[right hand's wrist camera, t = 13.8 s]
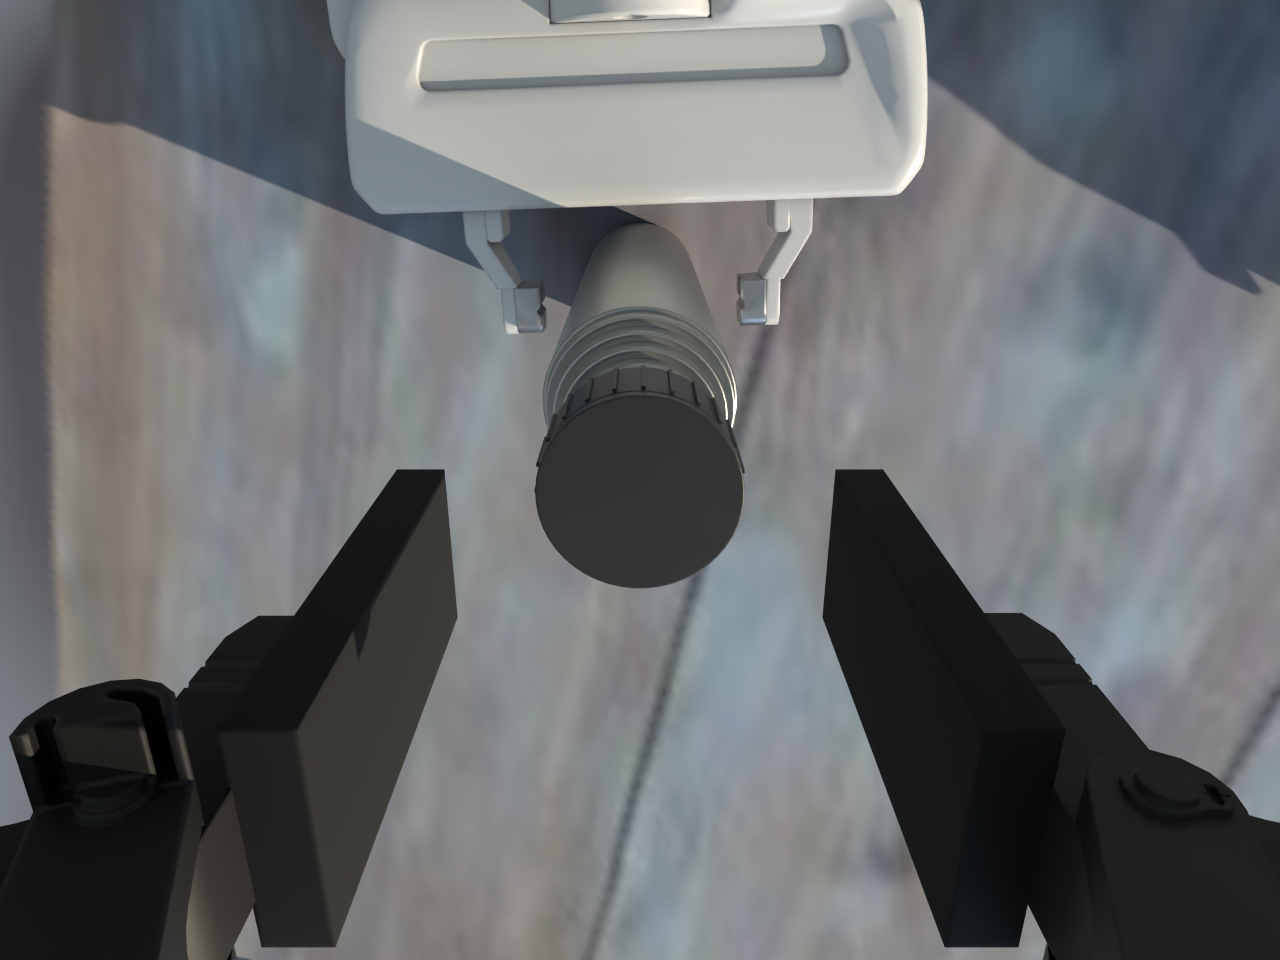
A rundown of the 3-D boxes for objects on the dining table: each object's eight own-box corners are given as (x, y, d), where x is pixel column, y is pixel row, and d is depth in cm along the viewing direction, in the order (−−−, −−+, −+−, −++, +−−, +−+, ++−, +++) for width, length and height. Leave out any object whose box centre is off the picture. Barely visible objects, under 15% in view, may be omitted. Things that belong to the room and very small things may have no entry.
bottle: (664, 348, 41) (696, 634, 18) (569, 303, 40) (474, 542, 17) (711, 251, 40) (813, 431, 16) (613, 203, 39) (574, 319, 16)
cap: (683, 572, 19) (688, 621, 17) (513, 499, 19) (499, 542, 17) (770, 414, 18) (786, 448, 16) (591, 330, 17) (585, 355, 15)
